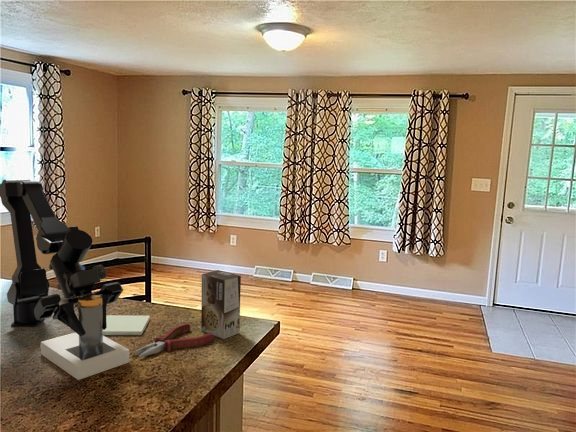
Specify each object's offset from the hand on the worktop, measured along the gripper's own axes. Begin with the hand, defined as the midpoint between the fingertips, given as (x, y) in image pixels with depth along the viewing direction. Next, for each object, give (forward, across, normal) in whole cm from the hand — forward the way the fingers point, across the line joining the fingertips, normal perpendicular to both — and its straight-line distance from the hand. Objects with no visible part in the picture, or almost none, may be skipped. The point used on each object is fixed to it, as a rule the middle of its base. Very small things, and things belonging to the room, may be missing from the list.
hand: (93, 332), depth 105 cm
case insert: (+2, 0, +8) cm, 9 cm away
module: (+4, 0, +6) cm, 8 cm away
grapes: (-26, +20, +37) cm, 50 cm away
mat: (-6, +17, +16) cm, 24 cm away
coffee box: (+9, +33, +2) cm, 34 cm away
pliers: (+7, +19, +5) cm, 21 cm away
